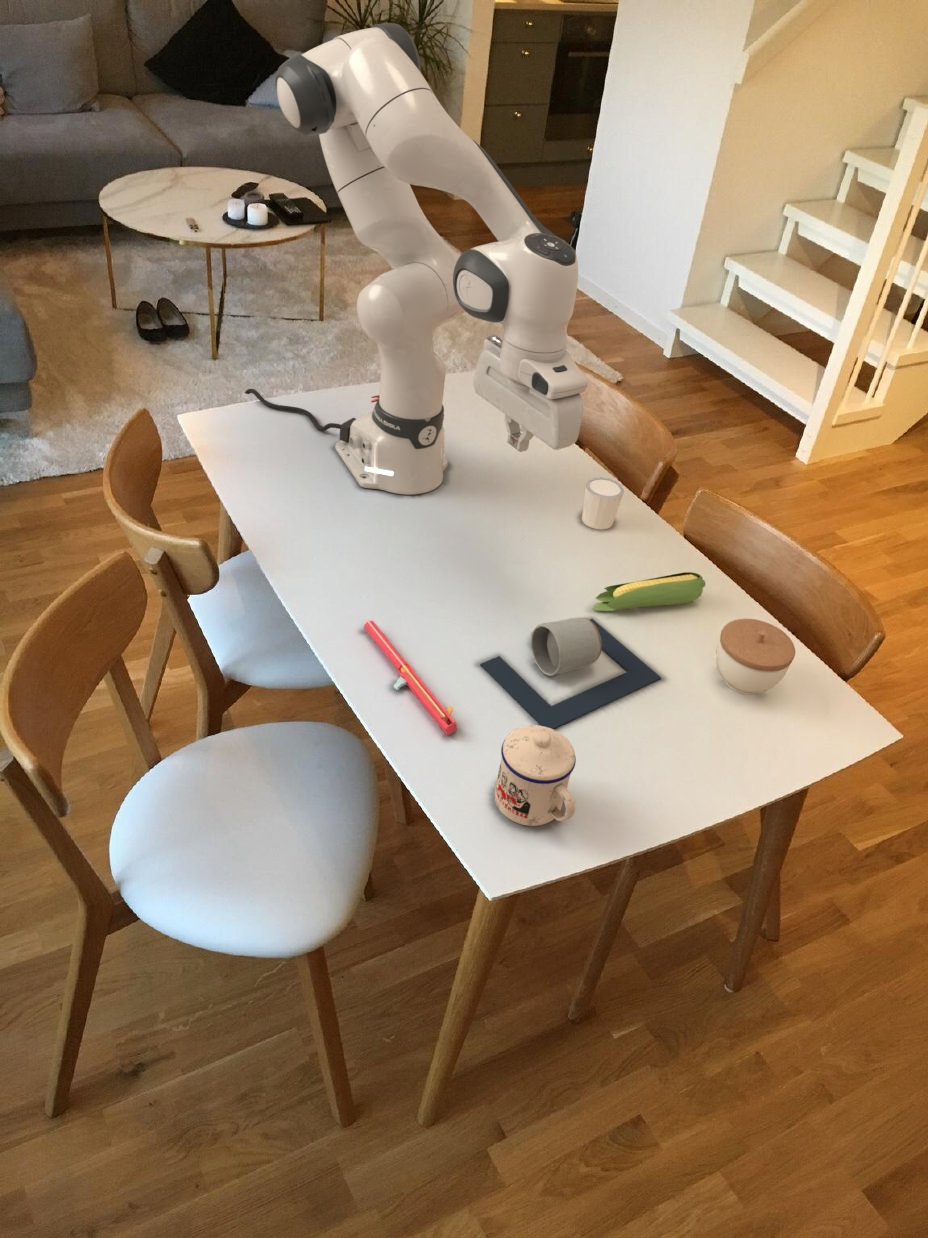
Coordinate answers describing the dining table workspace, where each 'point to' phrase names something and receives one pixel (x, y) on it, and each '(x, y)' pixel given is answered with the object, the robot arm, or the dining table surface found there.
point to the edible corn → (652, 592)
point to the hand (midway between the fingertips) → (517, 446)
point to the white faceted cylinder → (601, 502)
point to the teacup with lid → (535, 776)
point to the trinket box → (753, 655)
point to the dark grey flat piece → (584, 701)
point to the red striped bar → (412, 680)
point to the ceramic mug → (565, 645)
